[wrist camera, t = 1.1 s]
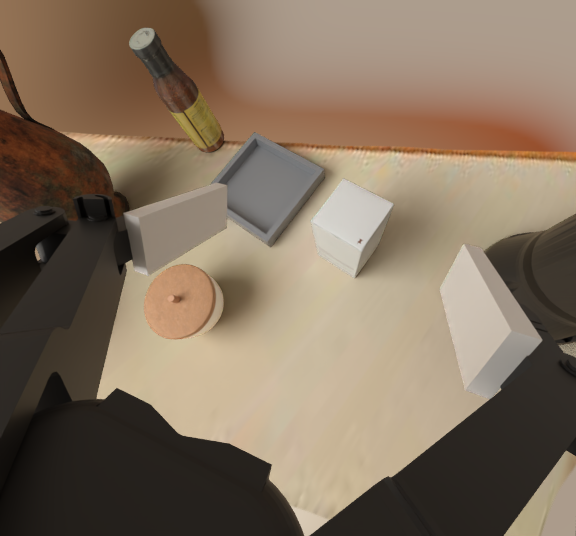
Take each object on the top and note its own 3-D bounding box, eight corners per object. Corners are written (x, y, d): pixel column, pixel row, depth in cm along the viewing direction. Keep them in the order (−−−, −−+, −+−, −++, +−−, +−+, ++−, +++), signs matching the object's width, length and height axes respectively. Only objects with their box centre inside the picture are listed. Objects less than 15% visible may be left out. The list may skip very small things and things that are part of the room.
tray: (324, 177, 48) (324, 169, 46) (270, 247, 46) (266, 241, 44) (258, 141, 53) (254, 132, 50) (206, 203, 51) (200, 196, 48)
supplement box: (380, 243, 43) (397, 203, 31) (354, 279, 42) (361, 253, 30) (341, 220, 45) (343, 175, 33) (316, 254, 44) (308, 221, 32)
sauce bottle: (224, 126, 55) (167, 13, 37) (226, 150, 54) (166, 45, 35) (195, 133, 56) (124, 27, 37) (196, 157, 54) (121, 58, 36)
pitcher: (57, 249, 54) (-252, 143, 26) (100, 160, 59) (-119, -13, 30) (124, 265, 50) (-152, 162, 22) (164, 168, 55) (-19, -21, 27)
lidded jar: (170, 339, 45) (129, 338, 36) (178, 277, 48) (141, 262, 39) (231, 340, 43) (203, 339, 34) (235, 275, 46) (211, 258, 37)
